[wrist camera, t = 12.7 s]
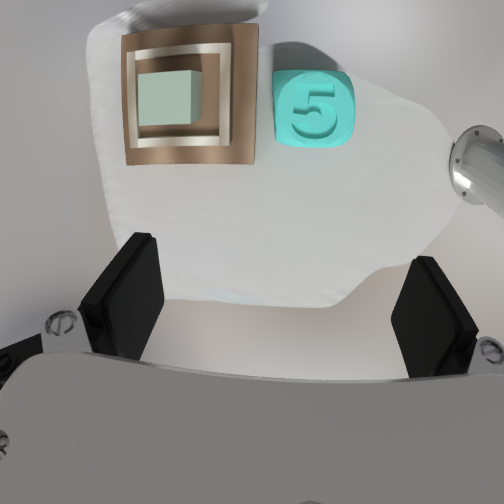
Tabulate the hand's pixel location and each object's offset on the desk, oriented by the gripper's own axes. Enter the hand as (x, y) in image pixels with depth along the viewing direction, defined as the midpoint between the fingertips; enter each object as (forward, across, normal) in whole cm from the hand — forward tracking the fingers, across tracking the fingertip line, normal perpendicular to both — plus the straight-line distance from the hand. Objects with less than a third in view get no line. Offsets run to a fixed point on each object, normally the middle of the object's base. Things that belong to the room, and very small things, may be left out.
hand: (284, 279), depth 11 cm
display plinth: (+29, +11, -5) cm, 32 cm away
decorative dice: (+30, -3, -4) cm, 30 cm away
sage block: (+23, +11, -5) cm, 26 cm away
